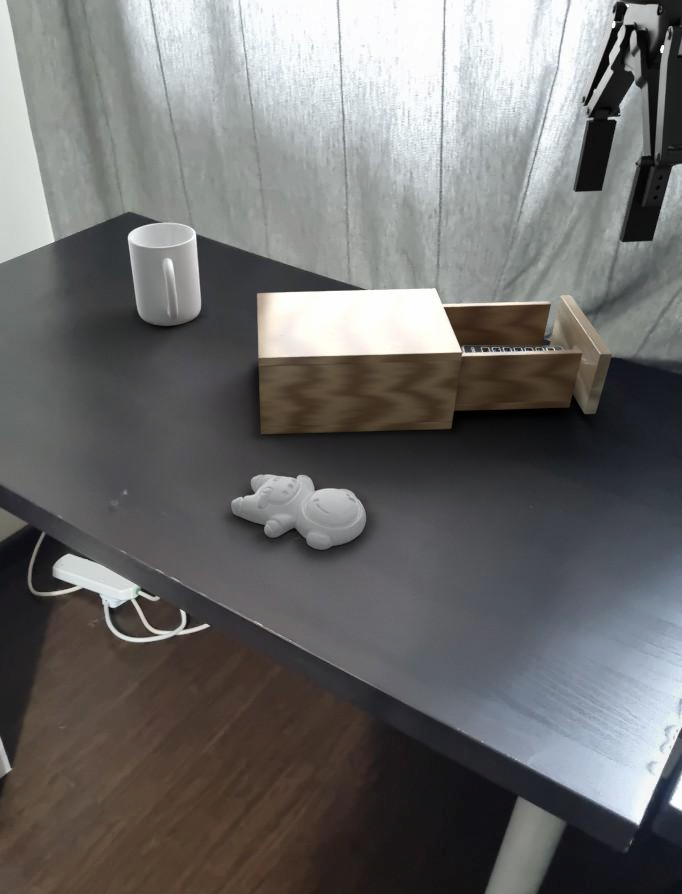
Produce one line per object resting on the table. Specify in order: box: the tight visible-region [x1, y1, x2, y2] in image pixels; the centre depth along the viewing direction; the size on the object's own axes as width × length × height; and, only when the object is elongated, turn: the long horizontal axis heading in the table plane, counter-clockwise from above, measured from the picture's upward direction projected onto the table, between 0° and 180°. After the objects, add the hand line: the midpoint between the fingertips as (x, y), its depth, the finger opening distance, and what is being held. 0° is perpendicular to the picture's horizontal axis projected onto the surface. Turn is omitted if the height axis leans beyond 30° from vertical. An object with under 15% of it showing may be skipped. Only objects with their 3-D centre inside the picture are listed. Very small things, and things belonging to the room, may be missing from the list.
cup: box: [127, 222, 202, 327], centre depth 103 cm, size 8×12×10 cm
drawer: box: [442, 294, 613, 415], centre depth 89 cm, size 20×14×7 cm
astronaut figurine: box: [230, 473, 367, 551], centre depth 74 cm, size 9×12×3 cm
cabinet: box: [256, 287, 462, 435], centre depth 88 cm, size 20×15×9 cm
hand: (609, 214), depth 79 cm, fingers open, 13 cm apart
